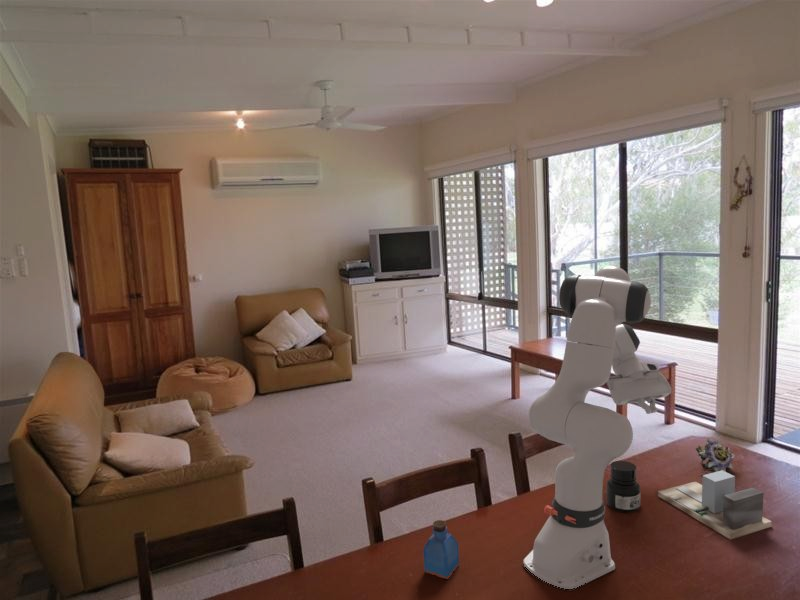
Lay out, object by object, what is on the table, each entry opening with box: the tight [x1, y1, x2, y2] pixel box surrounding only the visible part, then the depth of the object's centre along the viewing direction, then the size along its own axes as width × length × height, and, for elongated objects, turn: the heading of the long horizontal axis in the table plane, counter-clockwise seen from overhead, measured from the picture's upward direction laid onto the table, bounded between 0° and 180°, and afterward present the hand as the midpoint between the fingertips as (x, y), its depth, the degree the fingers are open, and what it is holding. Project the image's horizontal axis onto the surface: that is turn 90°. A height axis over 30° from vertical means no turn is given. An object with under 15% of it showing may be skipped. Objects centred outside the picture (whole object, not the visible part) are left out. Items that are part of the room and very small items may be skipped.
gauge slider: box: [696, 470, 736, 513], centre depth 149 cm, size 6×11×9 cm, turn 109°
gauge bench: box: [657, 481, 772, 540], centre depth 153 cm, size 24×14×10 cm, turn 19°
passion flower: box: [695, 437, 736, 473], centre depth 177 cm, size 11×11×12 cm
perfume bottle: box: [422, 519, 460, 577], centre depth 134 cm, size 6×6×12 cm
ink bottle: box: [606, 460, 641, 513], centre depth 158 cm, size 10×9×12 cm
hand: (652, 412), depth 170 cm, fingers closed
